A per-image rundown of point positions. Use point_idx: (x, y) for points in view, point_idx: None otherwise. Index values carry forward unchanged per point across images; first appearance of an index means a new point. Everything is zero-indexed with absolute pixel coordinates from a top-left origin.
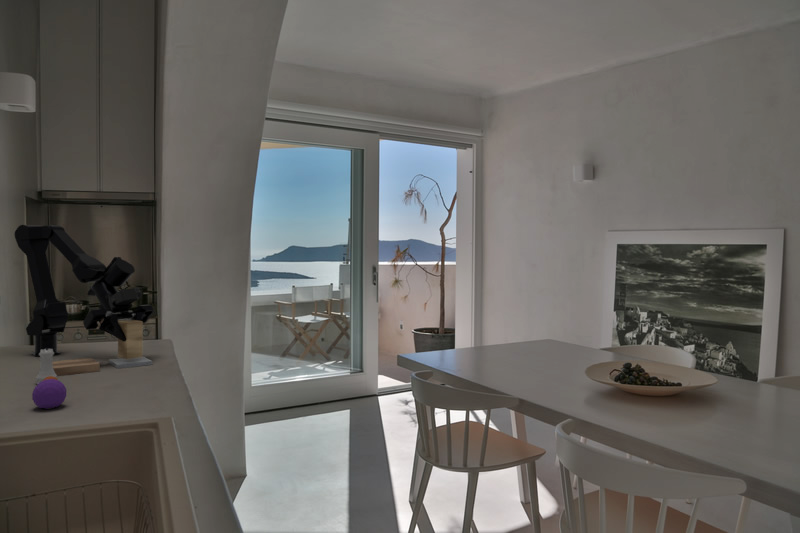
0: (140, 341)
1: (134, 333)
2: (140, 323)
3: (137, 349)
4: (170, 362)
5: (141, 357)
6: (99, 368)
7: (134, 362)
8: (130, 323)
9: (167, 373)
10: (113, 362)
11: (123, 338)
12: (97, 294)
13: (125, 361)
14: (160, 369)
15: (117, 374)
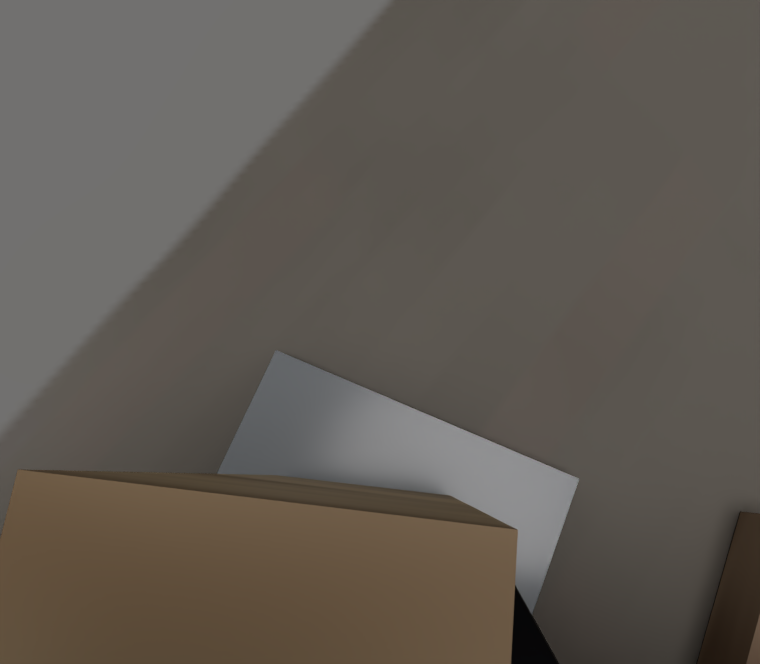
0: (252, 478)
1: (332, 492)
2: (119, 477)
3: (319, 482)
4: (136, 304)
5: None
6: (756, 513)
7: (412, 431)
8: (419, 515)
9: (461, 2)
10: None
11: None
12: None
13: None
14: (389, 146)
15: (710, 263)
